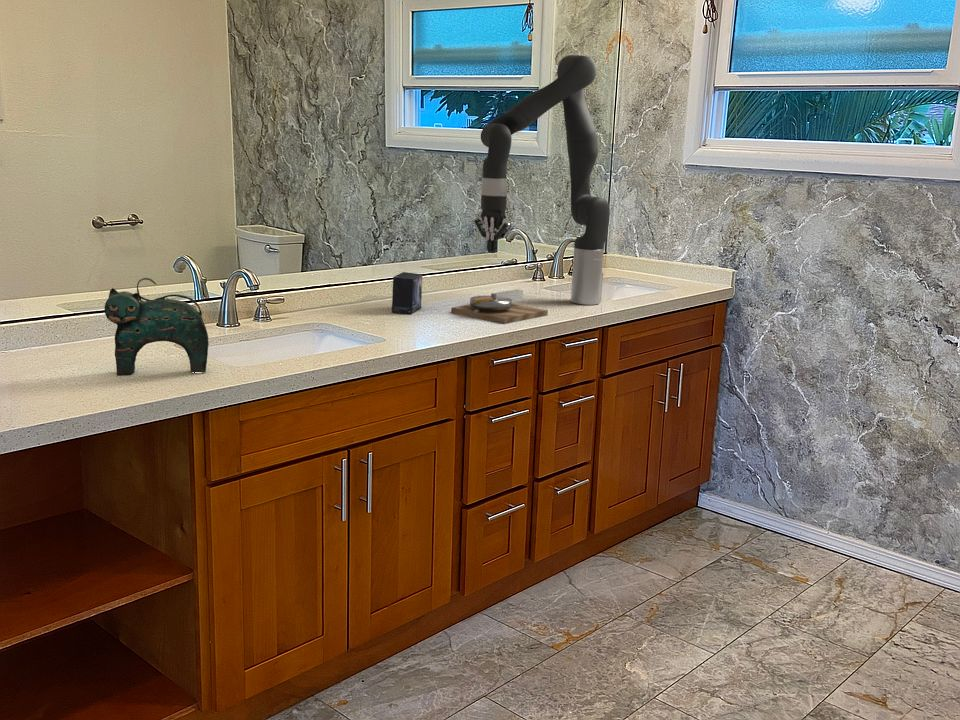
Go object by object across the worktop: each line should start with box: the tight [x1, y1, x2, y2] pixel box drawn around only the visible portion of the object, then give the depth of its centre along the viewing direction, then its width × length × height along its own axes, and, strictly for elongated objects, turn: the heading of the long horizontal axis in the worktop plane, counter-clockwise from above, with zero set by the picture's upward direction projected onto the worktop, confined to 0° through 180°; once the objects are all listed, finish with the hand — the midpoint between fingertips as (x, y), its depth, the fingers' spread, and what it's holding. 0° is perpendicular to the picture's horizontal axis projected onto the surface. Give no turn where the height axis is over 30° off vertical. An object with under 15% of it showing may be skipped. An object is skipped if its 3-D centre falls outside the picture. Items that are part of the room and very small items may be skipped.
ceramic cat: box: [104, 277, 210, 376], centre depth 197 cm, size 20×6×20 cm, turn 103°
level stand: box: [450, 302, 549, 325], centre depth 277 cm, size 20×20×2 cm
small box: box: [391, 271, 423, 315], centre depth 275 cm, size 11×6×10 cm, turn 168°
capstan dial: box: [469, 289, 524, 310], centre depth 277 cm, size 20×12×4 cm, turn 137°
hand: (492, 252), depth 284 cm, fingers closed
